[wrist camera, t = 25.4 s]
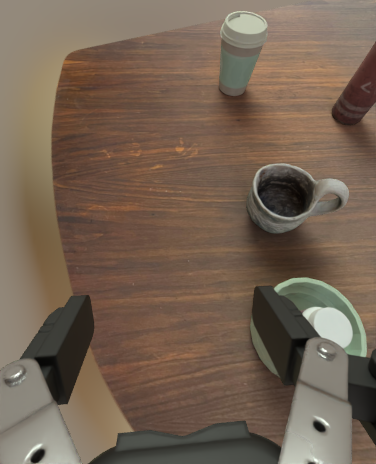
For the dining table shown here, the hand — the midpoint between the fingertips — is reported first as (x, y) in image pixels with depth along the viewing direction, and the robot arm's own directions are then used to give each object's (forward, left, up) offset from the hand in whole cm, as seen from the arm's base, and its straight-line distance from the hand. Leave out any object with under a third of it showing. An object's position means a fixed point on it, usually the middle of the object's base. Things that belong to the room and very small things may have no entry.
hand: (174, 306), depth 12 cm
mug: (+17, -18, -23) cm, 34 cm away
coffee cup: (+49, -15, -23) cm, 56 cm away
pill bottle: (-1, -16, -22) cm, 27 cm away
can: (+40, -38, -23) cm, 60 cm away
